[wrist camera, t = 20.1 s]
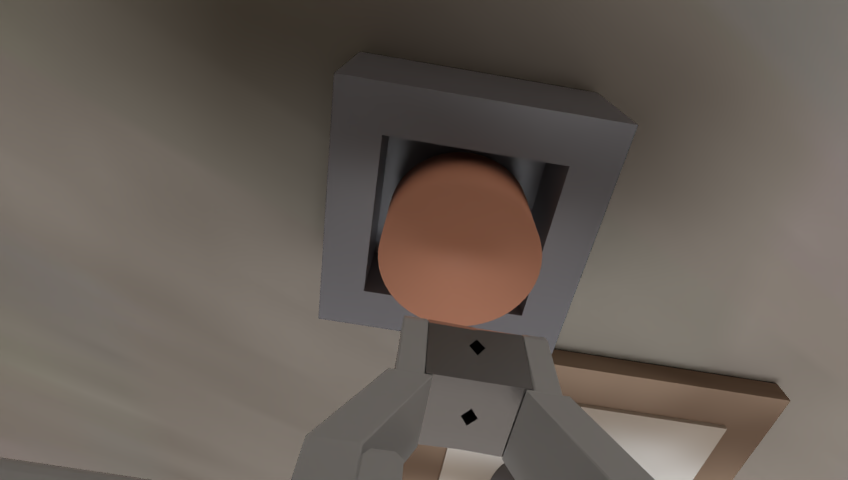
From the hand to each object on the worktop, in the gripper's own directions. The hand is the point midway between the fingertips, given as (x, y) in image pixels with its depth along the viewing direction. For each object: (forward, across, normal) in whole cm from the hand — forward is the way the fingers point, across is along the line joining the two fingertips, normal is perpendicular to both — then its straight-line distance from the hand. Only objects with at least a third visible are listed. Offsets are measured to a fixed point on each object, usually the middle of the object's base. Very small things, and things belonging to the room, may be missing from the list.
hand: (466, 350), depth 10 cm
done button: (+6, 0, 0) cm, 6 cm away
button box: (+9, 0, 0) cm, 9 cm away
